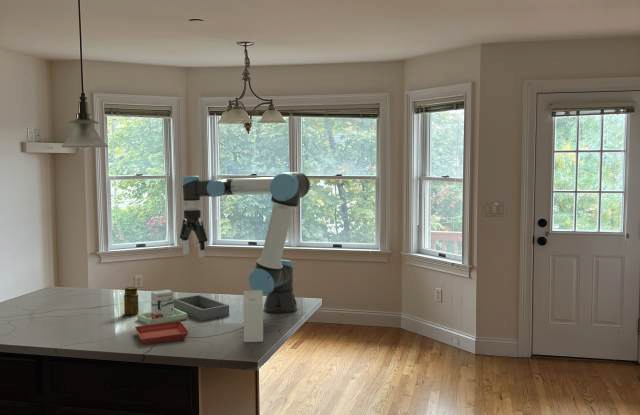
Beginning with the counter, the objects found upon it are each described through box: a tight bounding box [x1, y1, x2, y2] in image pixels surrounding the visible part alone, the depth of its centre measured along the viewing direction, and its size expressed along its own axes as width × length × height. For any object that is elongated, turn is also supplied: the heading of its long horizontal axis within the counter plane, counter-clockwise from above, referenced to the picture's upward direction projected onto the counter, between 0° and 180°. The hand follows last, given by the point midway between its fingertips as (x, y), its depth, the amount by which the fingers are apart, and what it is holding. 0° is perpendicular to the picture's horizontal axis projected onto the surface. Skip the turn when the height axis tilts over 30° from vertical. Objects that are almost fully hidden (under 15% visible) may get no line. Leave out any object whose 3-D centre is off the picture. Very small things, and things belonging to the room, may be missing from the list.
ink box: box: [150, 289, 175, 319], centre depth 255 cm, size 8×5×12 cm, turn 127°
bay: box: [174, 294, 230, 321], centre depth 269 cm, size 27×14×4 cm, turn 40°
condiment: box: [122, 286, 141, 318], centre depth 264 cm, size 7×8×12 cm
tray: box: [136, 308, 189, 325], centre depth 256 cm, size 13×17×2 cm
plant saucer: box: [134, 320, 190, 345], centre depth 231 cm, size 18×18×3 cm
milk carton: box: [242, 290, 264, 343], centre depth 226 cm, size 7×7×19 cm
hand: (193, 255), depth 273 cm, fingers open, 13 cm apart
